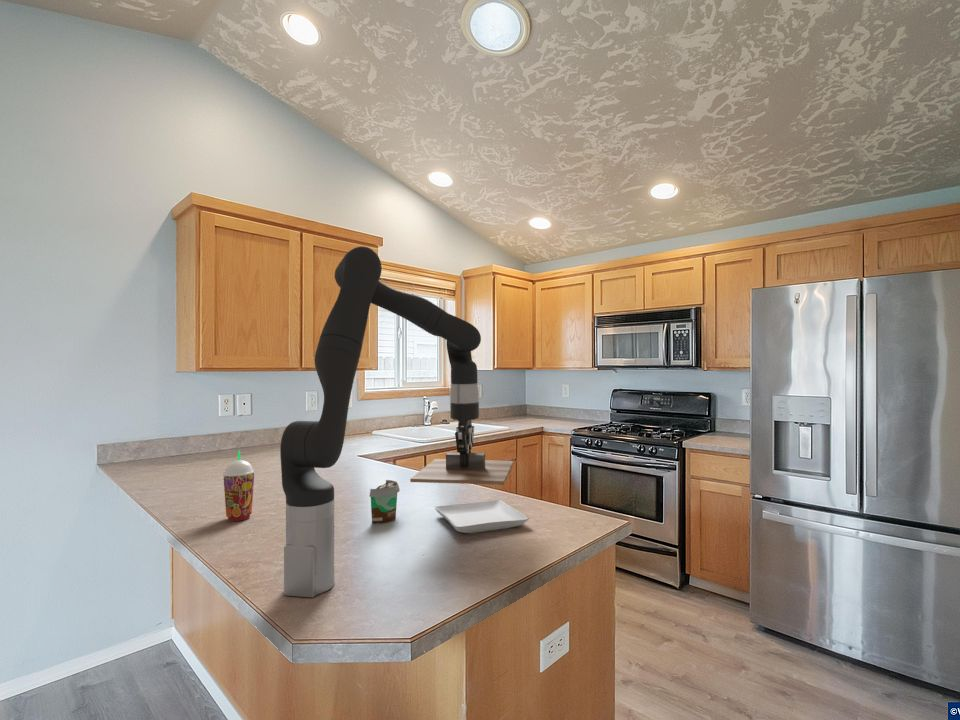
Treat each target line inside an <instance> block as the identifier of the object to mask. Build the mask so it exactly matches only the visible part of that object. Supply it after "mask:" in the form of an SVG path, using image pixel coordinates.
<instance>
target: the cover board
mask: <svg viewBox="0 0 960 720" xmlns="http://www.w3.org/2000/svg"><path fill="white" fill-rule="evenodd" d="M468 457H469V466H468V468H461V467H460V454H459V452H450V451H449V452H447V453H446V454H445V458H443V459H442V458H434V459H432V460H431V461H430V462H429V463H428V464H426V465H425V466H424V467H423V468H422V469H420V470H419V471H418V472H417V473H416V474H414V475H413V476H412V477H410V479H409V480H410V483H428V484H429V483H432V484H437V483H438V484H466V485H467V484H469V485H472V484H473V485H496V486H497V485H505V484H506V481H507V479H508V477H509V474H510V472H511V469H512V468H513V466H514V460H510V459H509V460H500V459H497V460H496V459H494V460H493V459H486V453H485V452H471V453H469V455H468Z"/></svg>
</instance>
